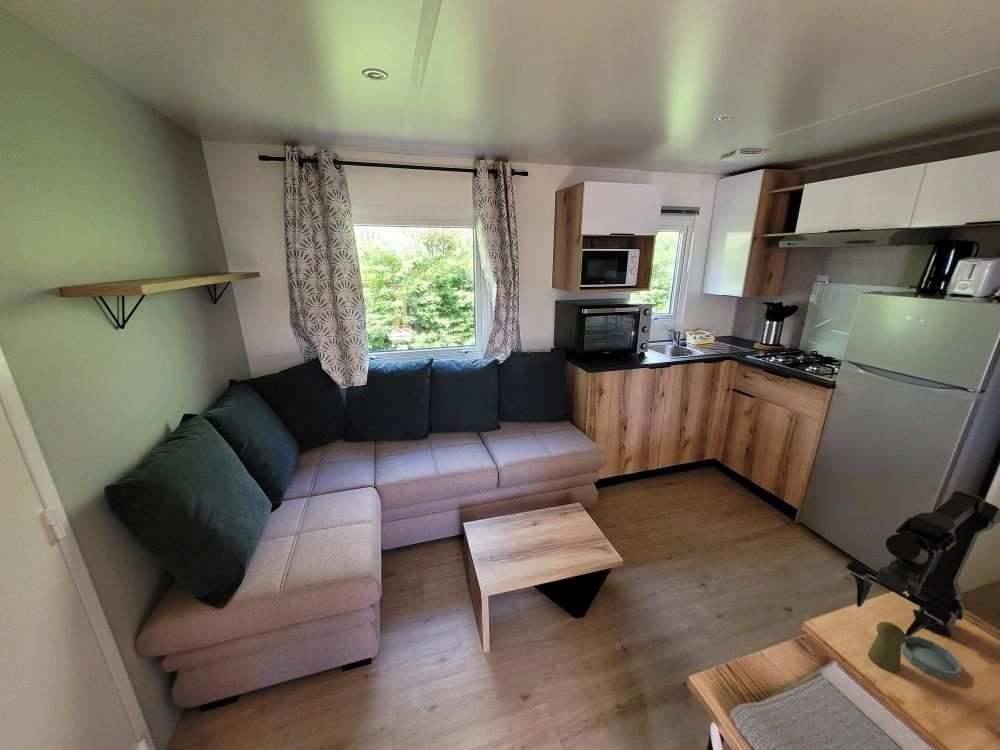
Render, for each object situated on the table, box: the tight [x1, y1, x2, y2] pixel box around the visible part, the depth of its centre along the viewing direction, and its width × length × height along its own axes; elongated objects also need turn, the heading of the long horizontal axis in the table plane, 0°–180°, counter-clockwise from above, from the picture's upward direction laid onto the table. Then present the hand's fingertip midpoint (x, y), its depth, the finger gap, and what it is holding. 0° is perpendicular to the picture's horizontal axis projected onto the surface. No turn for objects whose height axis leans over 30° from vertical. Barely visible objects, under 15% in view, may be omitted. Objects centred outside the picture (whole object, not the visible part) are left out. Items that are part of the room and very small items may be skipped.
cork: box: [867, 621, 906, 674], centre depth 96 cm, size 6×6×11 cm
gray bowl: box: [901, 635, 963, 682], centre depth 97 cm, size 10×10×2 cm
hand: (881, 620), depth 93 cm, fingers open, 9 cm apart
